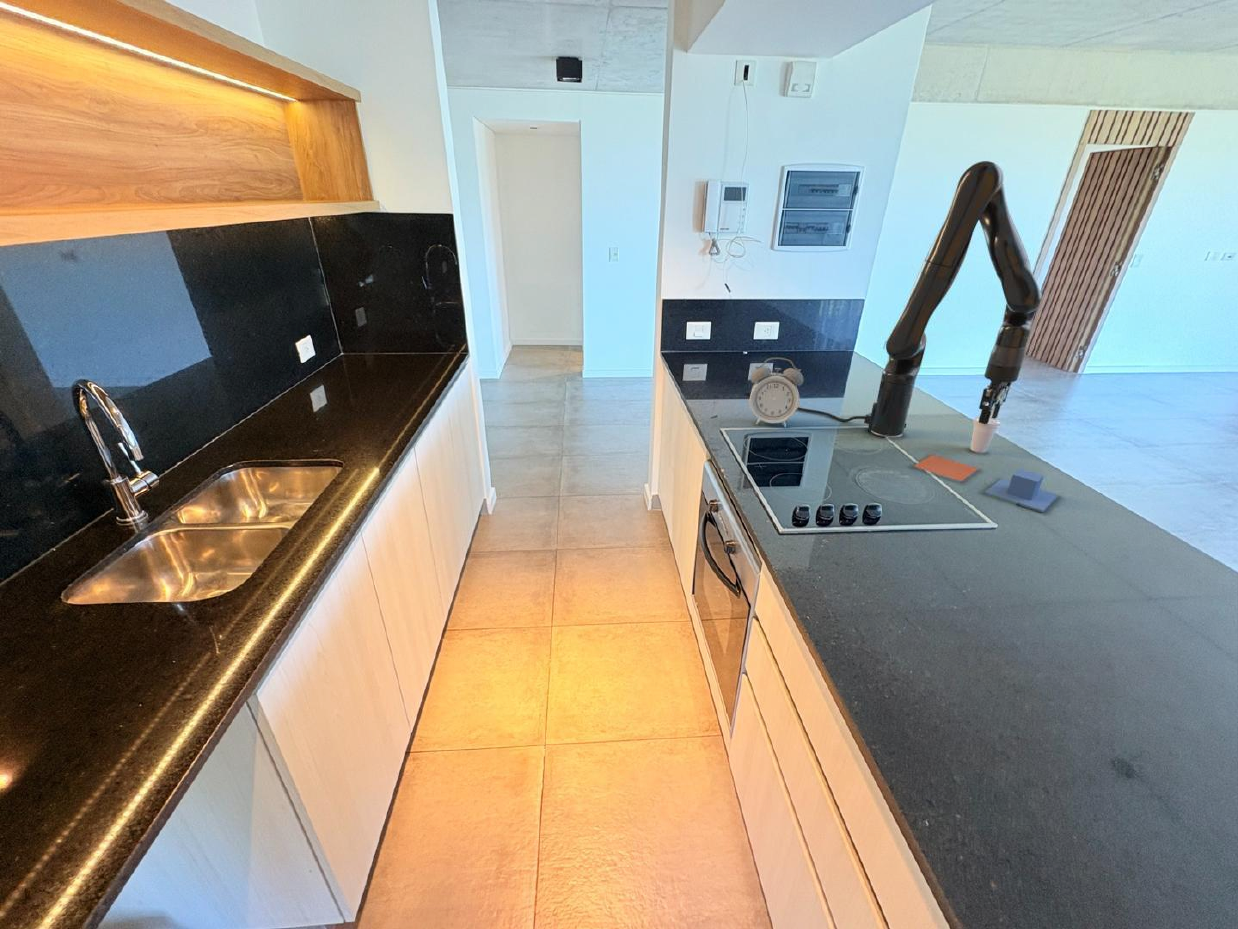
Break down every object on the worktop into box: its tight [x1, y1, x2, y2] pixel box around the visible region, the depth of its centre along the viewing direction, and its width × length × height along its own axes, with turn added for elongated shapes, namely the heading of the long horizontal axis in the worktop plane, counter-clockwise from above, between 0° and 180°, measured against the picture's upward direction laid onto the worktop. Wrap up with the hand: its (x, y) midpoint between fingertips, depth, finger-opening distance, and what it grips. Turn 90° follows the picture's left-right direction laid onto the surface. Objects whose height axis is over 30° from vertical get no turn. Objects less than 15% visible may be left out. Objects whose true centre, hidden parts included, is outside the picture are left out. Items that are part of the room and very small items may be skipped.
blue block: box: [1007, 468, 1045, 500], centre depth 128 cm, size 5×5×5 cm
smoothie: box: [970, 406, 1001, 454], centre depth 151 cm, size 6×6×14 cm
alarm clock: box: [749, 357, 804, 428], centre depth 171 cm, size 16×9×22 cm, turn 74°
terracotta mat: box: [913, 454, 979, 482], centre depth 143 cm, size 12×12×1 cm
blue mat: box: [984, 478, 1059, 514], centre depth 129 cm, size 12×12×1 cm
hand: (987, 420), depth 149 cm, fingers closed on smoothie, 6 cm apart
